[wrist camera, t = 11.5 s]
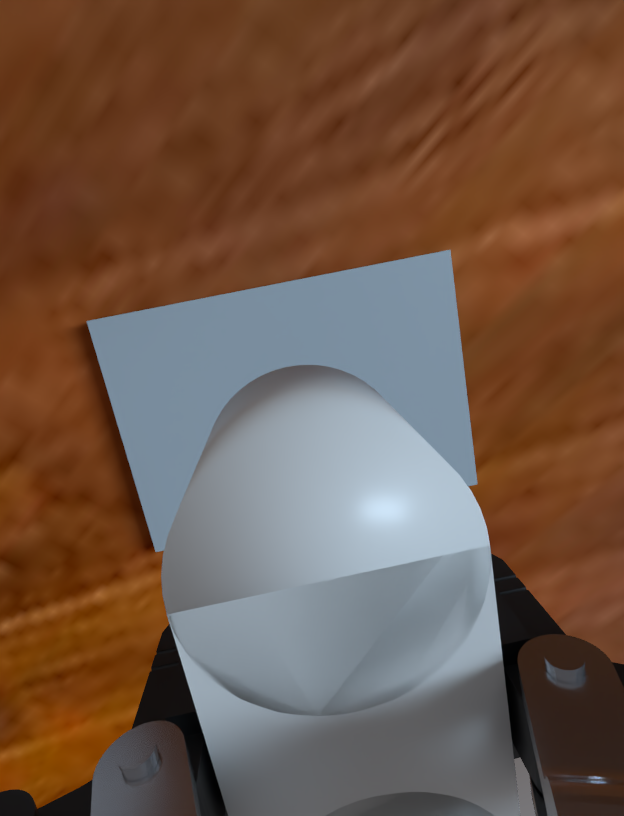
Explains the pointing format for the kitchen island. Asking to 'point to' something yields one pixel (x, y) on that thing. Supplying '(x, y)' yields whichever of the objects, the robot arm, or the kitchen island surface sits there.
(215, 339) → the cutting board
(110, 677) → the kitchen island surface
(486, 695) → the rounded plug
